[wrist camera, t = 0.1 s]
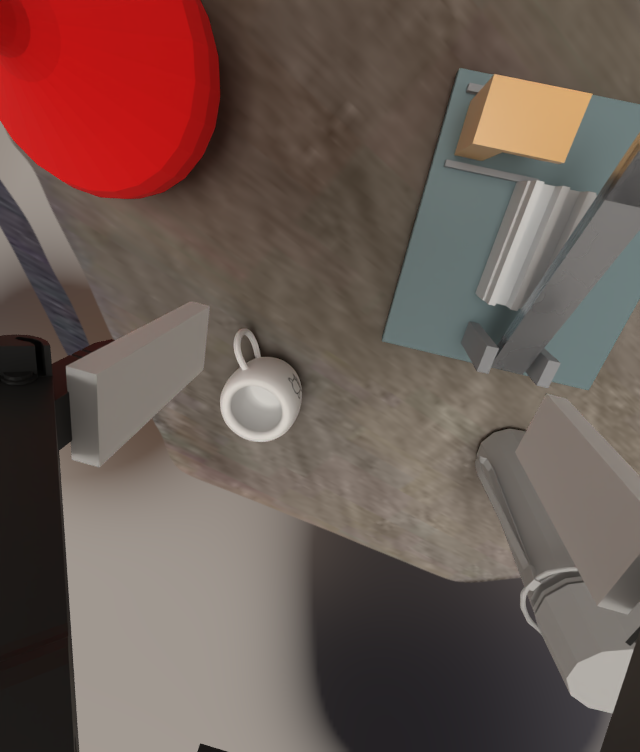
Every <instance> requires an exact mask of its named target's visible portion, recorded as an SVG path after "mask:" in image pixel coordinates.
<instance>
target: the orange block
mask: <svg viewBox="0 0 640 752" xmlns="http://www.w3.org/2000/svg"><path fill="white" fill-rule="evenodd" d="M591 97H592V94H591V93H586V92H581V91H576V90H571V89H566V88H561V87H556V86H551V85H546V84H541V83H536V82H531V81H526V80H521V79H517V78H512V77H507V76H502V75H497V74H494V75H493V76H492V77H491V79H490V80H489V81H488V82H487V83H486V84H485V85H484V87H483V88H482V89H481V90H480V91H479V92H478V93H477V94H476V96H475V97H474V98H473V99H472V100H471V101H470V105H469V108H468V111H467V115H466V118H465V121H464V124H463V128H462V131H461V134H460V138H459V141H458V144H457V148H456V151H455V154H454V155H455V156H460V157H464V158H469V159H474V160H478V161H483V160H485V159H488V158H490V157H493V156H495V155H497V154H500V153H502V152H503V153H508V154H513V155H517V156H522V157H527V158H532V159H536V160H541V161H546V162H550V163H555V164H561V163H564V162H565V160H566V157H567V155H568V153H569V150H570V148H571V145H572V143H573V140H574V138H575V136H576V133H577V131H578V128H579V126H580V123H581V121H582V119H583V116H584V114H585V111H586V109H587V106H588V104H589V101H590V99H591Z"/></svg>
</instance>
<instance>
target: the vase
mask: <svg viewBox="0 0 640 752" xmlns="http://www.w3.org/2000/svg"><path fill="white" fill-rule="evenodd" d="M219 103H220V79H219V57H218V53H217V49H216V45H215V41H214V37H213V33H212V29H211V25H210V21H209V17H208V15H207V13H206V11H205V9H204V7H203V5H202V3H201V1H200V0H0V121H1V122H2V124H3V125H4V127H5V128H6V130H7V131H8V133H9V134H10V136H11V137H12V139H13V140H14V141H15V142H16V143H17V144H18V145H19V146H20V147H21V148H22V149H23V150H24V152H25V153H26V154H27V155H28V156H29V157H30V158H31V159H32V160H33V161H34V162H35V163H36V164H37V165H39V166H41V167H42V168H44V169H45V170H47V171H48V172H50V173H51V174H53V175H54V176H56V177H57V178H59V179H60V180H62V181H63V182H65V183H67V184H68V185H70V186H71V187H73V188H76V189H78V190H81V191H84V192H87V193H90V194H92V195H95V196H98V197H103V198H121V199H138V198H144V197H148V196H151V195H155V194H159V193H163V192H165V191H166V190H168V189H169V188H171V187H172V186H174V185H175V184H177V183H178V182H180V181H181V180H183V179H184V178H186V176H187V175H188V174H189V173H190V171H191V170H192V169H193V168H194V166H195V165H196V164H197V163H198V161H199V160H200V159H201V158H202V156H203V154H204V152H205V150H206V148H207V146H208V144H209V141H210V139H211V137H212V134H213V132H214V130H215V127H216V121H217V115H218V109H219Z"/></svg>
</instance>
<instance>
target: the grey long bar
mask: <svg viewBox="0 0 640 752" xmlns="http://www.w3.org/2000/svg"><path fill="white" fill-rule="evenodd" d="M639 230H640V132H639V134H638V135H637V137H636V138H635V140H634V141H633V143H632V144H631V146H630V147H629V149H628V150H627V152H626V153H625V155H624V156H623V158H622V159H621V161H620V162H619V164H618V165H617V167H616V168H615V170H614V171H613V173H612V174H611V176H610V177H609V179H608V180H607V182H606V183H605V185H604V186H603V188H602V189H601V191H600V192H599V194H598V195H597V197H596V198H595V200H594V201H593V203H592V204H591V206H590V207H589V209H588V210H587V212H586V213H585V215H584V216H583V218H582V219H581V221H580V222H579V224H578V225H577V227H576V228H575V230H574V231H573V233H572V234H571V236H570V237H569V239H568V240H567V242H566V243H565V245H564V246H563V248H562V249H561V251H560V252H559V254H558V255H557V257H556V258H555V260H554V261H553V263H552V264H551V266H550V267H549V269H548V270H547V271H546V273H545V274H544V276H543V277H542V279H541V280H540V282H539V283H538V285H537V286H536V288H535V289H534V291H533V292H532V294H531V295H530V297H529V298H528V300H527V301H526V303H525V304H524V306H523V307H522V309H521V310H520V312H519V313H518V315H517V316H516V318H515V319H514V321H513V322H512V324H511V325H510V327H509V328H508V330H507V331H506V333H505V334H504V336H503V337H502V339H501V340H500V342H499V343H498V345H497V347H498V348H499V350H498V352H497V354H496V357H495V359H494V361H493V364H492V366H491V367H493V368H497V369H501V370H505V371H510V372H514V373H518V374H522V375H523V374H524V372H525V371H526V370H527V369H528V367H529V366H530V365H531V364H532V363H533V361H534V360H535V359H536V358H537V356H538V355H539V354H540V353H541V351H542V350H543V349H544V348H545V346H546V345H547V344H548V343H549V342H550V340H551V339H552V338H553V337H554V335H555V334H556V333H557V332H558V330H559V329H560V328H561V327H562V325H563V324H564V323H565V322H566V320H567V319H568V318H569V317H570V316H571V314H572V313H573V312H574V311H575V309H576V308H577V307H578V306H579V304H580V303H581V302H582V301H583V299H584V298H585V297H586V296H587V294H588V293H589V292H590V291H591V290H592V288H593V287H594V286H595V285H596V283H597V282H598V281H599V280H600V278H601V277H602V276H603V275H604V273H605V272H606V271H607V270H608V268H609V267H610V266H611V265H612V264H613V262H614V261H615V260H616V259H617V257H618V256H619V255H620V254H621V252H622V251H623V250H624V249H625V247H626V246H627V245H628V244H629V242H630V241H631V240H632V239H633V238H634V236H635V235H636V234H637V233H638V231H639Z"/></svg>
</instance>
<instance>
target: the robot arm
mask: <svg viewBox="0 0 640 752" xmlns="http://www.w3.org/2000/svg"><path fill="white" fill-rule="evenodd" d="M209 310H210V306H208V305H204V304H200V303H196V302H192V301H190V302H188V303H186V304H185V305H183V306H181V307H179V308H177V309H175V310H173V311H171V312H169V313H167V314H165V315H163V316H161V317H160V318H158V319H156V320H154V321H152V322H150V323H148V324H146V325H144V326H142V327H140V328H138V329H136V330H134V331H133V332H131V333H129V334H127V335H125V336H123V337H121V338H119V339H117V340H112V339H111V340H106V341H102V342H97V343H94V344H92V345H90V346H88V347H86V348H84V349H82V351H81V350H79V351H77V352H75V353H73V354H72V356H70V355H69V356H67V357H65V358H63V359H61V360H59V361H57V362H55V363H53V364H51V352H50V345H49V343H48V342H47V341H46V340H44V339H42V338H39V337H34V336H30V335H3V336H0V752H79V742H78V728H77V713H76V698H75V682H74V668H73V653H72V639H71V623H70V610H69V609H70V608H69V593H68V578H67V563H66V548H65V533H64V518H63V504H62V488H61V473H60V458H59V450H60V449H62V448H63V447H64V446H65V445H67V444H68V443H69V442H71V453H72V460H75V461H79V462H82V463H86V464H90V465H93V466H97V467H100V466H101V465H103V464H104V462H106V461H107V460H108V459H109V458H110V457H111V456H112V455H113V454H114V453H115V452H116V451H117V450H118V449H119V448H120V447H122V446H123V445H124V444H125V443H126V442H127V441H128V440H129V439H130V438H131V437H132V436H133V435H134V434H135V433H136V432H138V431H139V430H140V429H141V428H142V427H143V426H144V425H145V424H146V423H147V422H148V421H149V420H150V419H151V418H152V417H154V416H155V415H156V414H157V413H158V412H159V411H160V410H161V409H162V408H163V407H164V406H165V405H166V404H167V403H168V402H169V401H171V400H172V399H173V398H174V397H175V396H176V395H177V394H178V393H179V392H180V391H181V390H182V389H183V388H184V387H185V386H187V385H188V384H189V383H190V382H191V381H192V380H193V379H194V378H195V377H196V376H197V375H198V374H199V373H200V372H201V371H202V370H203V369H204V359H205V349H206V339H207V329H208V320H209ZM515 453H516V455H517V457H518V459H519V461H520V463H521V465H522V467H523V468H524V470H525V472H526V474H527V476H528V478H529V480H530V482H531V483H532V485H533V487H534V489H535V491H536V493H537V495H538V496H539V498H540V500H541V502H542V504H543V506H544V508H545V510H546V511H547V513H548V515H549V517H550V519H551V521H552V523H553V525H554V526H555V528H556V530H557V532H558V534H559V536H560V538H561V540H562V541H563V543H564V545H565V547H566V549H567V551H568V553H569V555H570V556H571V558H572V560H573V562H574V564H575V566H576V568H577V569H578V571H579V573H580V575H581V577H582V579H583V581H584V583H585V584H586V586H587V588H588V590H589V592H590V594H591V596H592V598H593V599H594V601H595V603H596V605H597V606H599V607H602V608H606V609H609V610H613V611H616V612H620V613H624V614H627V615H628V614H629V613H630V611H631V610H632V609H633V608H634V607H635V606H636V605H637V603H638V602H639V601H640V476H639V475H638V474H637V472H636V471H635V470H634V469H633V468H632V467H631V466H630V465H629V464H628V463H627V462H626V461H625V460H624V459H623V458H622V457H621V456H620V454H619V453H618V452H617V451H616V450H615V449H614V448H613V447H612V446H611V445H610V444H609V443H608V442H607V441H606V440H605V439H604V438H603V436H602V435H601V434H600V433H599V432H598V431H597V430H596V429H595V428H594V427H593V426H592V425H591V424H590V423H589V422H588V421H587V420H586V418H585V417H584V416H583V415H582V414H581V413H580V412H579V411H578V410H577V409H576V408H575V407H574V406H573V405H572V404H571V403H570V402H569V400H568V399H566V398H562V397H559V396H555V395H551V394H547V393H546V395H545V397H544V399H543V401H542V403H541V404H540V406H539V408H538V410H537V412H536V414H535V416H534V418H533V419H532V421H531V423H530V425H529V427H528V429H527V431H526V433H525V434H524V436H523V438H522V440H521V442H520V444H519V446H518V448H517V449H516V451H515ZM625 643H627V644H628V645H629V646H631V645H632V644H633V643H636V644H635V647H634V650H633V653H632V656H631V659H630V662H629V666H628V669H627V672H626V675H625V678H624V681H623V684H622V687H621V690H620V693H619V696H618V699H617V702H616V705H615V708H614V711H613V714H612V717H611V720H610V723H609V726H608V729H607V732H606V735H605V738H604V742H603V744H602V748H601V751H600V752H640V626H639V628H638V629H637V630H636V631H635V632H634V633H633V634H632V635H631V636H630V637H629V638H628V640H627V641H626V642H625ZM198 752H227V751H223V750H220V749H216V748H213V747H210V746H207V745H204V744H200V746H199V749H198Z"/></svg>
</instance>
